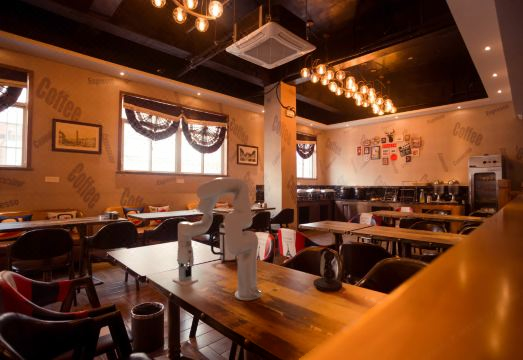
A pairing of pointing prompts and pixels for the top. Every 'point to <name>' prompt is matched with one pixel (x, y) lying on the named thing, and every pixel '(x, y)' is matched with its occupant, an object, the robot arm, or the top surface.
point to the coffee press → (222, 246)
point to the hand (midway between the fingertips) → (185, 274)
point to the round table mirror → (327, 272)
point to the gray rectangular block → (184, 274)
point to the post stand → (185, 281)
